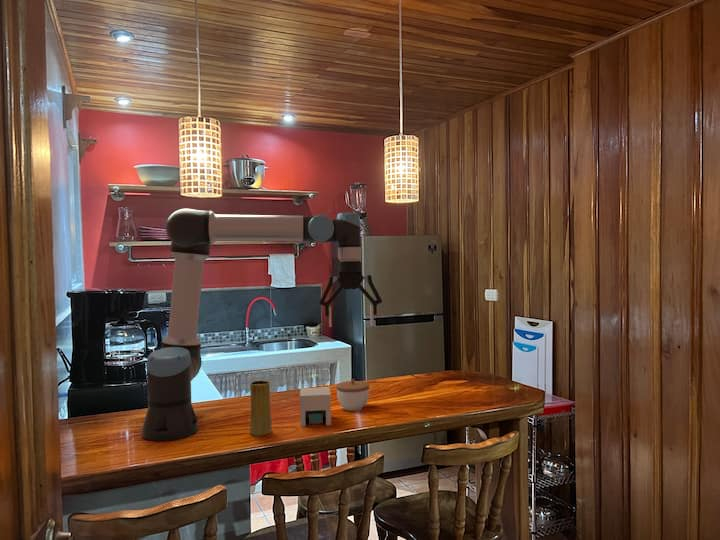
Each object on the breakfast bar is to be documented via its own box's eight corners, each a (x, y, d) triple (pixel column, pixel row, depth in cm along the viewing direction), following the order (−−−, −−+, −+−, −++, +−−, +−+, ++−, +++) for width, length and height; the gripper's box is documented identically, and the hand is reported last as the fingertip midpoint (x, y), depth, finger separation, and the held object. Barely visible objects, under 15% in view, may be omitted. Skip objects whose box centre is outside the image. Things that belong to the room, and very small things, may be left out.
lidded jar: (366, 413, 162) (365, 384, 162) (333, 412, 164) (332, 383, 164) (372, 404, 172) (371, 376, 172) (341, 403, 174) (340, 375, 174)
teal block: (309, 420, 157) (309, 410, 157) (322, 419, 157) (322, 409, 157) (309, 424, 153) (309, 414, 153) (322, 423, 153) (322, 413, 153)
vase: (246, 435, 143) (245, 384, 143) (254, 428, 149) (253, 379, 149) (268, 436, 142) (267, 385, 142) (274, 429, 148) (273, 380, 148)
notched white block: (301, 417, 159) (300, 388, 159) (330, 416, 160) (329, 387, 160) (300, 426, 150) (299, 395, 150) (331, 425, 151) (330, 394, 151)
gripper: (386, 259, 172) (387, 323, 172) (311, 261, 170) (312, 325, 170) (389, 259, 164) (390, 326, 165) (311, 261, 162) (312, 328, 163)
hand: (351, 326), depth 167 cm, fingers open, 13 cm apart
